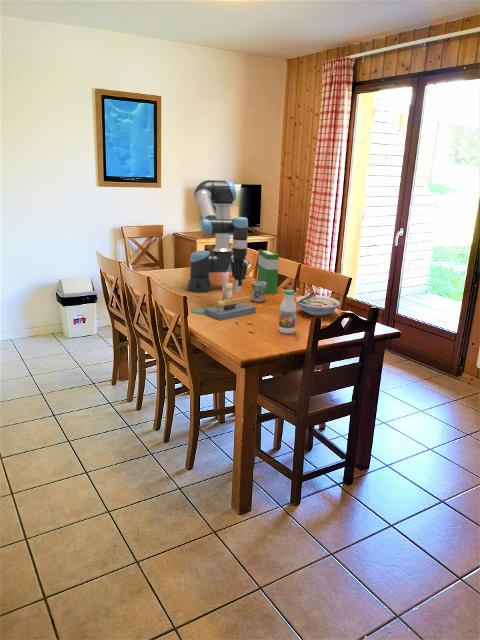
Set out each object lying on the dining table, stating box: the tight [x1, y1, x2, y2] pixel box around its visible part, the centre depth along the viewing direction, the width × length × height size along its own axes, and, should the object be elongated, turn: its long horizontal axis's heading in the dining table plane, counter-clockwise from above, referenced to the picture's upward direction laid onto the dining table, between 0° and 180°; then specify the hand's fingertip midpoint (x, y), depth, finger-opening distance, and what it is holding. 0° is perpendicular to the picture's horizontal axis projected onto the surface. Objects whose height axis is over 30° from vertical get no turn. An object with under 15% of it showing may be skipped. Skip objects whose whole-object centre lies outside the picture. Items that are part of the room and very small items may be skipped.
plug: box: [221, 281, 236, 310], centre depth 260 cm, size 10×10×16 cm
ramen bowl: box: [296, 292, 340, 317], centre depth 265 cm, size 25×23×8 cm
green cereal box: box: [256, 248, 280, 295], centre depth 308 cm, size 18×7×24 cm, turn 14°
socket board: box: [203, 302, 257, 321], centre depth 261 cm, size 13×24×6 cm, turn 132°
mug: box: [250, 280, 267, 303], centre depth 287 cm, size 12×9×11 cm
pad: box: [190, 307, 206, 315], centre depth 263 cm, size 9×9×1 cm
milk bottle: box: [278, 289, 297, 335], centre depth 234 cm, size 8×8×20 cm
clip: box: [217, 295, 251, 307], centre depth 259 cm, size 4×21×2 cm, turn 132°
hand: (238, 291), depth 268 cm, fingers closed
